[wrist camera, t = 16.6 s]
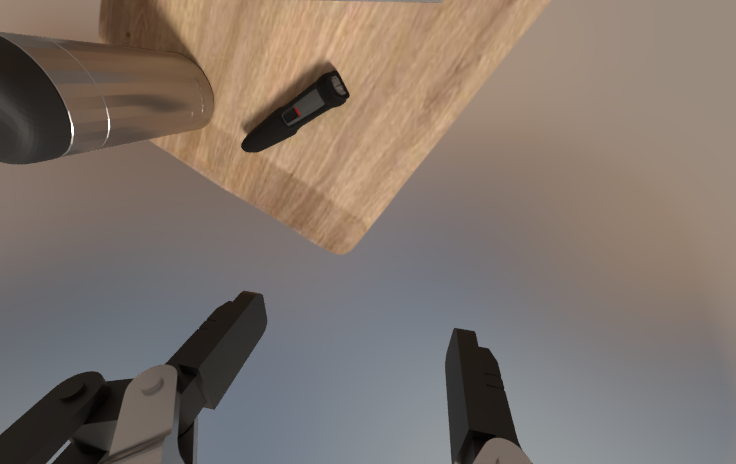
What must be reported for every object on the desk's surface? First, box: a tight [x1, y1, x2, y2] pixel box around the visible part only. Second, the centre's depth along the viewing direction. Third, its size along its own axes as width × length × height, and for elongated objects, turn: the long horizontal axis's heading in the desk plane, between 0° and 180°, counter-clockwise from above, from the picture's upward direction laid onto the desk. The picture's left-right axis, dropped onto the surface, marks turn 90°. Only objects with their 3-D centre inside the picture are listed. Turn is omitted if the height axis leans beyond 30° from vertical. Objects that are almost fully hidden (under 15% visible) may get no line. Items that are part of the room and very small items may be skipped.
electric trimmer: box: [241, 71, 350, 152], centre depth 35 cm, size 4×16×3 cm, turn 119°
